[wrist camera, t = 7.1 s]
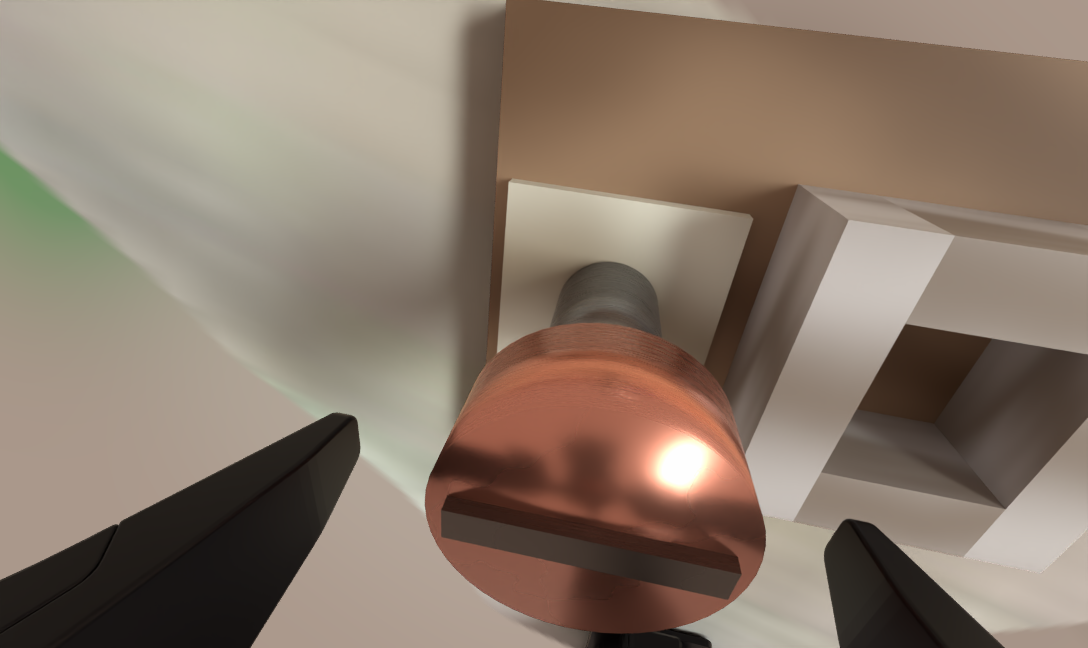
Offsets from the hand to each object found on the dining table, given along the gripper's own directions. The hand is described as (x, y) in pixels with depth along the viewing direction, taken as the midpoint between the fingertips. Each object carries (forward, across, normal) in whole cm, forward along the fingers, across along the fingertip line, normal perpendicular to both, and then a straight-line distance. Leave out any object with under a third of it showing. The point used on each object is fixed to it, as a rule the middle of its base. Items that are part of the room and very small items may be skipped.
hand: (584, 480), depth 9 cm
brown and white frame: (+9, -5, 0) cm, 11 cm away
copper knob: (+7, 0, 0) cm, 7 cm away
